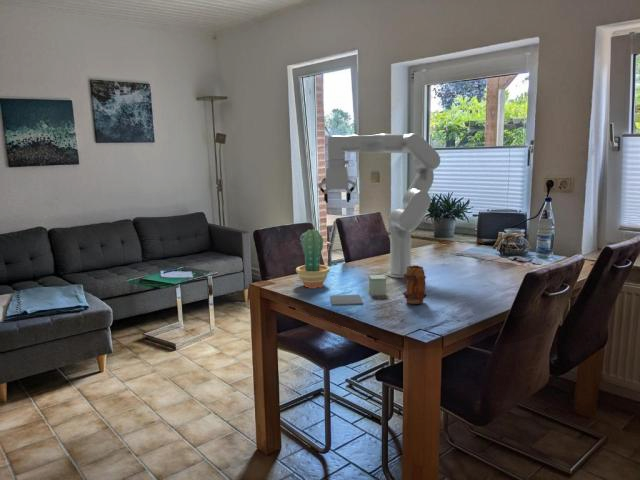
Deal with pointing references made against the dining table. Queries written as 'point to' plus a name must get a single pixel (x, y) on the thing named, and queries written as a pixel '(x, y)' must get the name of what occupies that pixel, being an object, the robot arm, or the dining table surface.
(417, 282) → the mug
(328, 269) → the potted cactus
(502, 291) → the dining table surface
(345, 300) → the slate coaster
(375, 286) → the tea tin
